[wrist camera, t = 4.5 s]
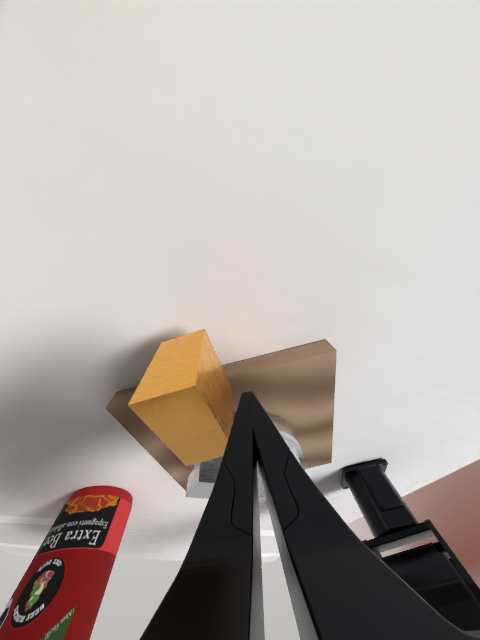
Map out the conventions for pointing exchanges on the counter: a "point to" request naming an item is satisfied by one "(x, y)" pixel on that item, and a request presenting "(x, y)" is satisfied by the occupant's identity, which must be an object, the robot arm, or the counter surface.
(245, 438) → the robot arm
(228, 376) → the board
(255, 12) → the counter surface
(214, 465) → the silver tabbed disc tool
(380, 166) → the counter surface
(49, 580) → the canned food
